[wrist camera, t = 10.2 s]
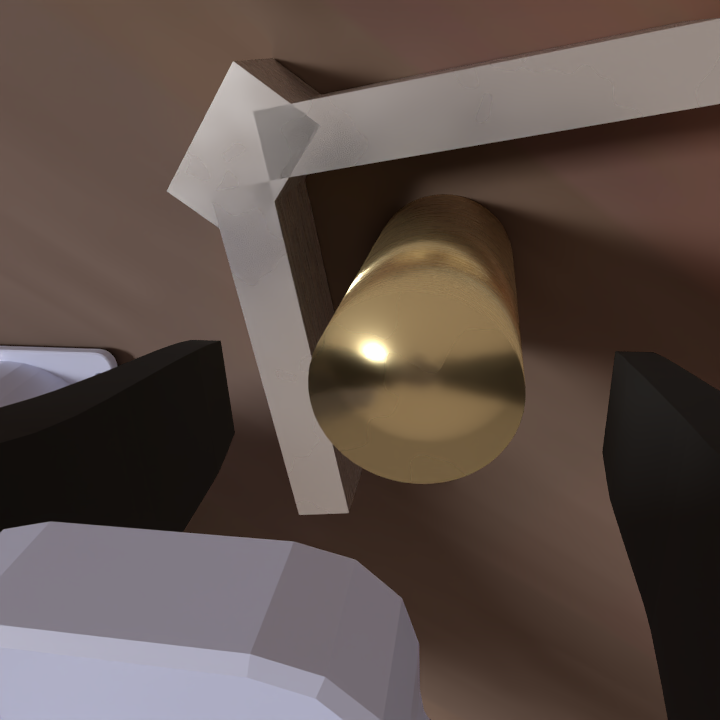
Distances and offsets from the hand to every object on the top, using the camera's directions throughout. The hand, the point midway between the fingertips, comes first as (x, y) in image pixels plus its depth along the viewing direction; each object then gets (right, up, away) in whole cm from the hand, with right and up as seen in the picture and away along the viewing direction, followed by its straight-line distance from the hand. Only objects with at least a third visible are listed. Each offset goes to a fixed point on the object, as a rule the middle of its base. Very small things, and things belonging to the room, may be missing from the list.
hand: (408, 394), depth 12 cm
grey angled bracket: (0, +5, +7) cm, 8 cm away
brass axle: (+2, +3, +7) cm, 8 cm away
